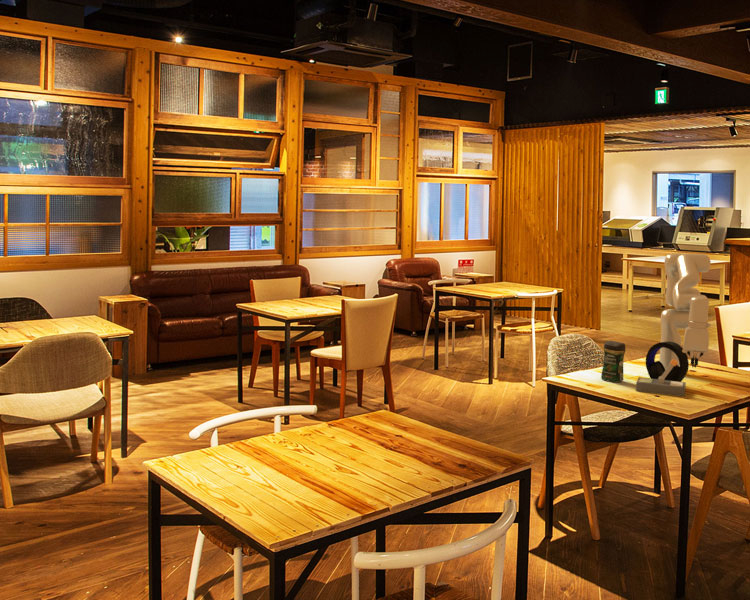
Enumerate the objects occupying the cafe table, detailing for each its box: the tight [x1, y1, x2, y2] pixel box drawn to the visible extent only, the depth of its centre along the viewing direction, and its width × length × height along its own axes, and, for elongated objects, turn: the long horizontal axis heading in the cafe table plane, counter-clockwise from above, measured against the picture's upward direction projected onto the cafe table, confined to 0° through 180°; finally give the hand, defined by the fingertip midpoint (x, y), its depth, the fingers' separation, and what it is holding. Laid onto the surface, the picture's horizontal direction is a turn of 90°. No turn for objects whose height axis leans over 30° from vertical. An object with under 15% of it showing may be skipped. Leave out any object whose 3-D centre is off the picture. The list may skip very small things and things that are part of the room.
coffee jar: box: [600, 340, 627, 383], centre depth 361 cm, size 10×8×19 cm
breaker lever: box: [660, 359, 678, 379], centre depth 343 cm, size 3×2×12 cm
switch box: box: [635, 376, 687, 398], centre depth 344 cm, size 11×20×6 cm, turn 66°
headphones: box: [645, 341, 690, 382], centre depth 356 cm, size 19×7×20 cm, turn 38°
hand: (694, 366), depth 338 cm, fingers closed
